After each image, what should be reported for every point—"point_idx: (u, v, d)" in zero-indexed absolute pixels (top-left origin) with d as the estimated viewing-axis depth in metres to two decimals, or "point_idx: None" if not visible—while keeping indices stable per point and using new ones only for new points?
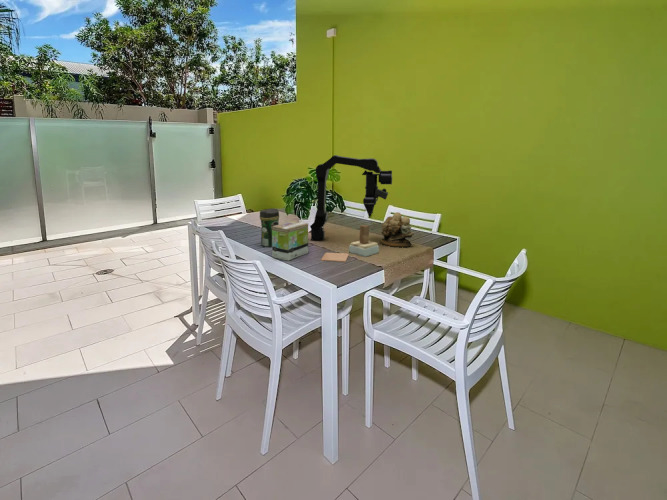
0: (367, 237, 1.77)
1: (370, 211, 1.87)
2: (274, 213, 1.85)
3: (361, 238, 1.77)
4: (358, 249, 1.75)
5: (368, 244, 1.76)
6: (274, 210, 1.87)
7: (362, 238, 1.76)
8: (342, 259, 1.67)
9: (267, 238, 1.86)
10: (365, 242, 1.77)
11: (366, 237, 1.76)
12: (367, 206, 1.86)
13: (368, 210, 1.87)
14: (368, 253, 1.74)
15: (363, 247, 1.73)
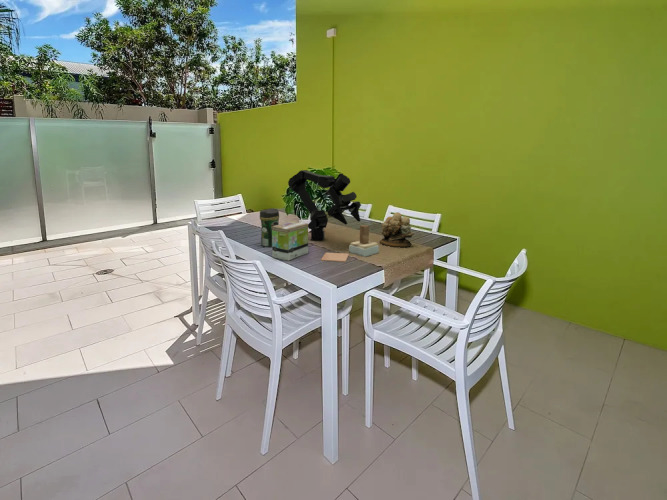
0: (367, 237, 1.77)
1: (342, 219, 1.78)
2: (274, 213, 1.85)
3: (361, 238, 1.77)
4: (358, 249, 1.75)
5: (368, 244, 1.76)
6: (274, 210, 1.87)
7: (362, 238, 1.76)
8: (342, 259, 1.67)
9: (267, 238, 1.86)
10: (365, 242, 1.77)
11: (366, 237, 1.76)
12: (337, 217, 1.79)
13: (340, 219, 1.79)
14: (368, 253, 1.74)
15: (363, 247, 1.73)
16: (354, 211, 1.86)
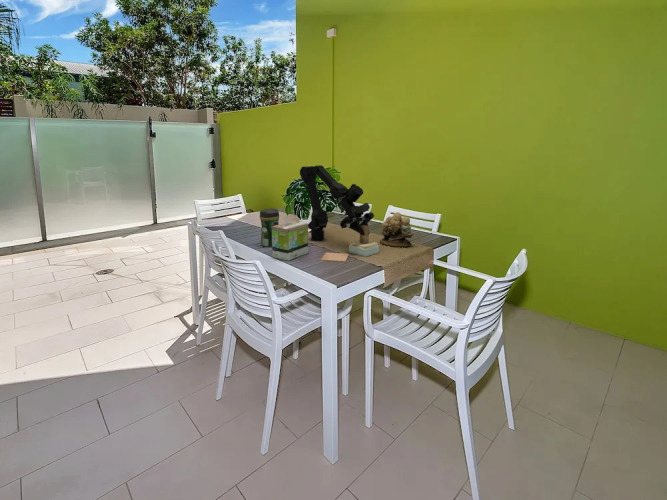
0: (367, 237, 1.77)
1: (360, 230, 1.75)
2: (274, 213, 1.85)
3: (361, 238, 1.77)
4: (358, 249, 1.75)
5: (368, 244, 1.76)
6: (274, 210, 1.87)
7: (362, 238, 1.76)
8: (342, 259, 1.67)
9: (267, 238, 1.86)
10: (365, 242, 1.77)
11: (366, 237, 1.76)
12: (354, 227, 1.76)
13: (358, 230, 1.76)
14: (368, 253, 1.74)
15: (363, 247, 1.73)
16: (363, 223, 1.79)
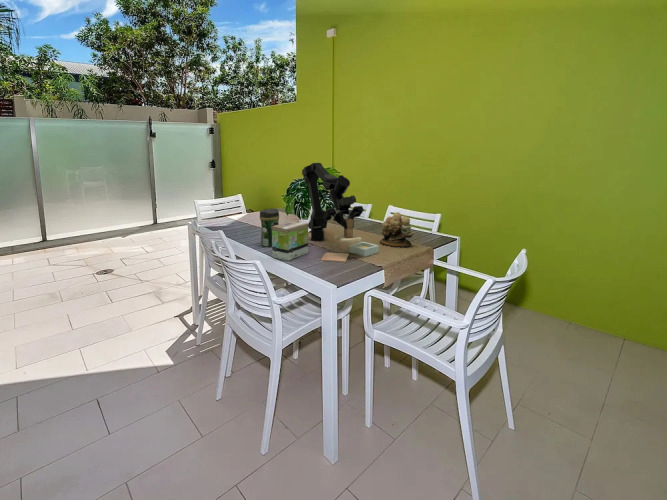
0: (351, 231, 1.70)
1: (342, 223, 1.69)
2: (274, 213, 1.85)
3: (345, 232, 1.71)
4: (358, 249, 1.75)
5: (351, 238, 1.69)
6: (274, 210, 1.87)
7: (345, 232, 1.70)
8: (342, 259, 1.67)
9: (267, 238, 1.86)
10: (348, 236, 1.70)
11: (349, 231, 1.69)
12: (338, 220, 1.71)
13: (341, 223, 1.70)
14: (368, 253, 1.74)
15: (343, 241, 1.67)
16: (349, 217, 1.72)
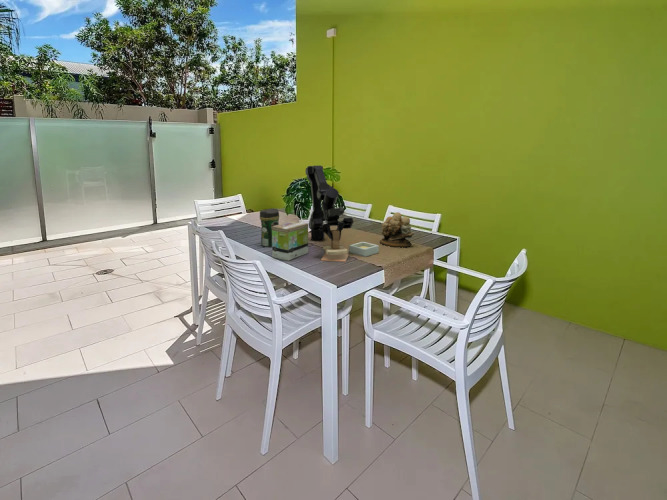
0: (337, 242, 1.68)
1: (329, 234, 1.68)
2: (274, 213, 1.85)
3: (331, 243, 1.70)
4: (358, 249, 1.75)
5: (336, 250, 1.68)
6: (274, 210, 1.87)
7: (332, 243, 1.69)
8: (342, 259, 1.67)
9: (267, 238, 1.86)
10: (334, 248, 1.69)
11: (336, 242, 1.68)
12: (326, 231, 1.71)
13: (328, 234, 1.69)
14: (368, 253, 1.74)
15: (328, 252, 1.66)
16: (338, 228, 1.71)
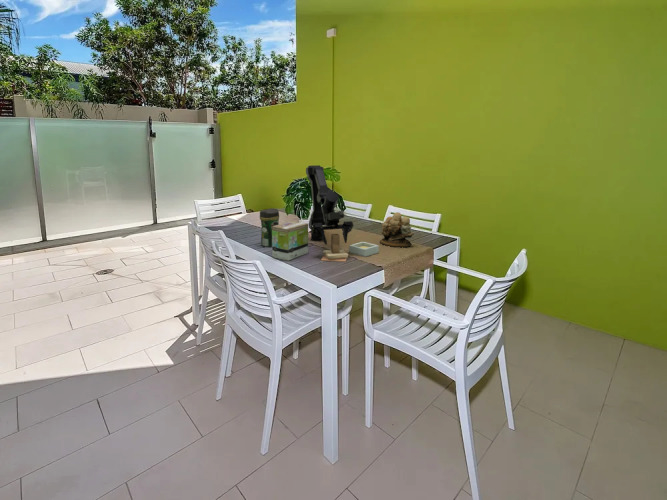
0: (337, 246, 1.69)
1: (323, 238, 1.68)
2: (274, 213, 1.85)
3: (331, 247, 1.70)
4: (358, 249, 1.75)
5: (336, 254, 1.68)
6: (274, 210, 1.87)
7: (332, 247, 1.70)
8: (342, 259, 1.67)
9: (267, 238, 1.86)
10: (334, 252, 1.69)
11: (336, 246, 1.69)
12: (320, 235, 1.70)
13: (322, 239, 1.69)
14: (368, 253, 1.74)
15: (328, 256, 1.67)
16: (344, 231, 1.72)
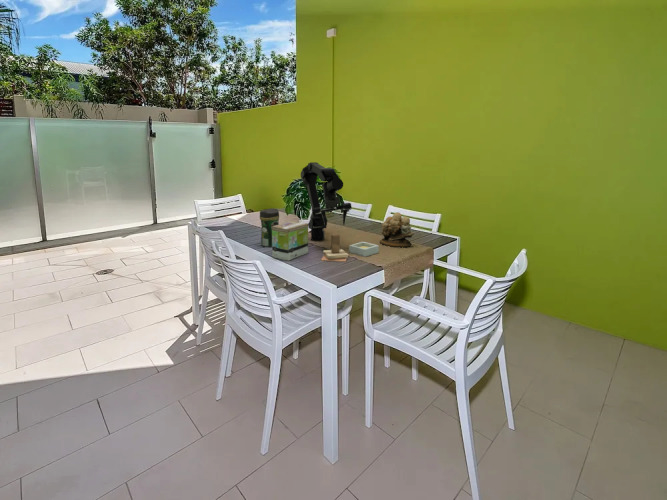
0: (337, 246, 1.69)
1: (322, 222, 1.80)
2: (274, 213, 1.85)
3: (331, 247, 1.70)
4: (358, 249, 1.75)
5: (336, 254, 1.68)
6: (274, 210, 1.87)
7: (332, 247, 1.70)
8: (342, 259, 1.67)
9: (267, 238, 1.86)
10: (334, 252, 1.69)
11: (336, 246, 1.69)
12: None
13: None
14: (368, 253, 1.74)
15: (328, 256, 1.67)
16: (343, 213, 1.80)
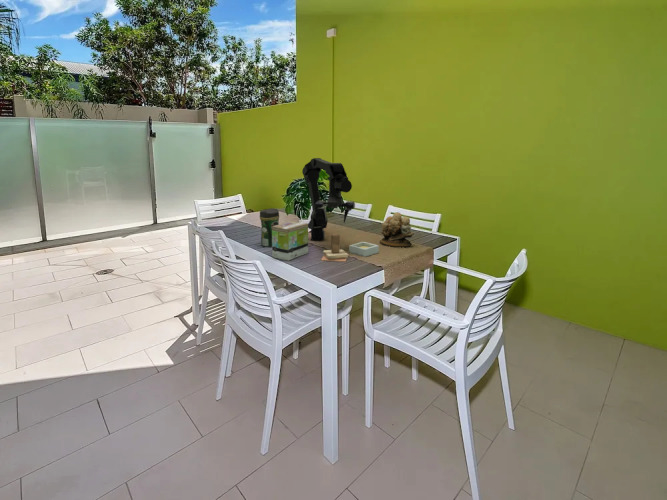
0: (337, 246, 1.69)
1: None
2: (274, 213, 1.85)
3: (331, 247, 1.70)
4: (358, 249, 1.75)
5: (336, 254, 1.68)
6: (274, 210, 1.87)
7: (332, 247, 1.70)
8: (342, 259, 1.67)
9: (267, 238, 1.86)
10: (334, 252, 1.69)
11: (336, 246, 1.69)
12: None
13: None
14: (368, 253, 1.74)
15: (328, 256, 1.67)
16: None
